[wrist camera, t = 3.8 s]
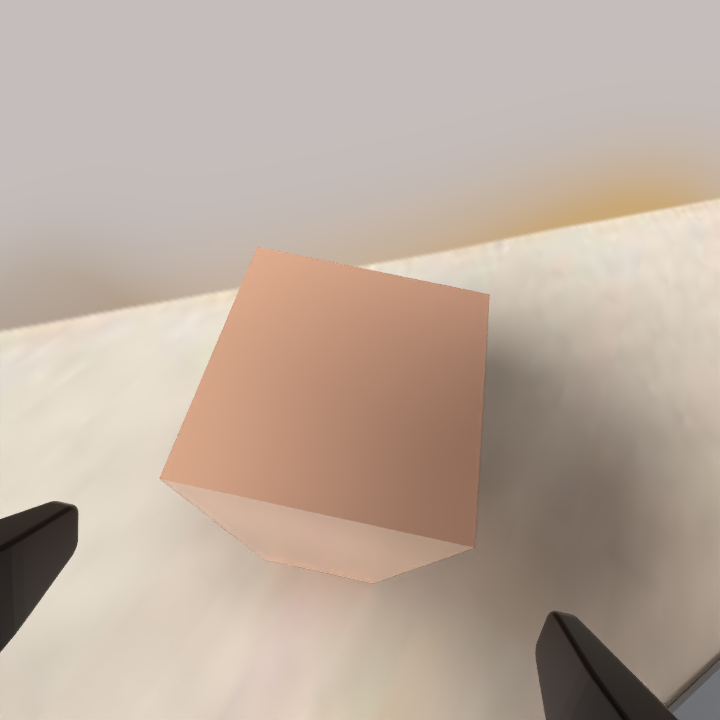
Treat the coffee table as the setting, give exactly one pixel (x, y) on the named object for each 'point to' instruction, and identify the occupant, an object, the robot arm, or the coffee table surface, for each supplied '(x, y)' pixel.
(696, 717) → the mat
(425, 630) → the coffee table surface
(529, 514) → the coffee table surface
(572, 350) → the coffee table surface
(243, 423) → the block
